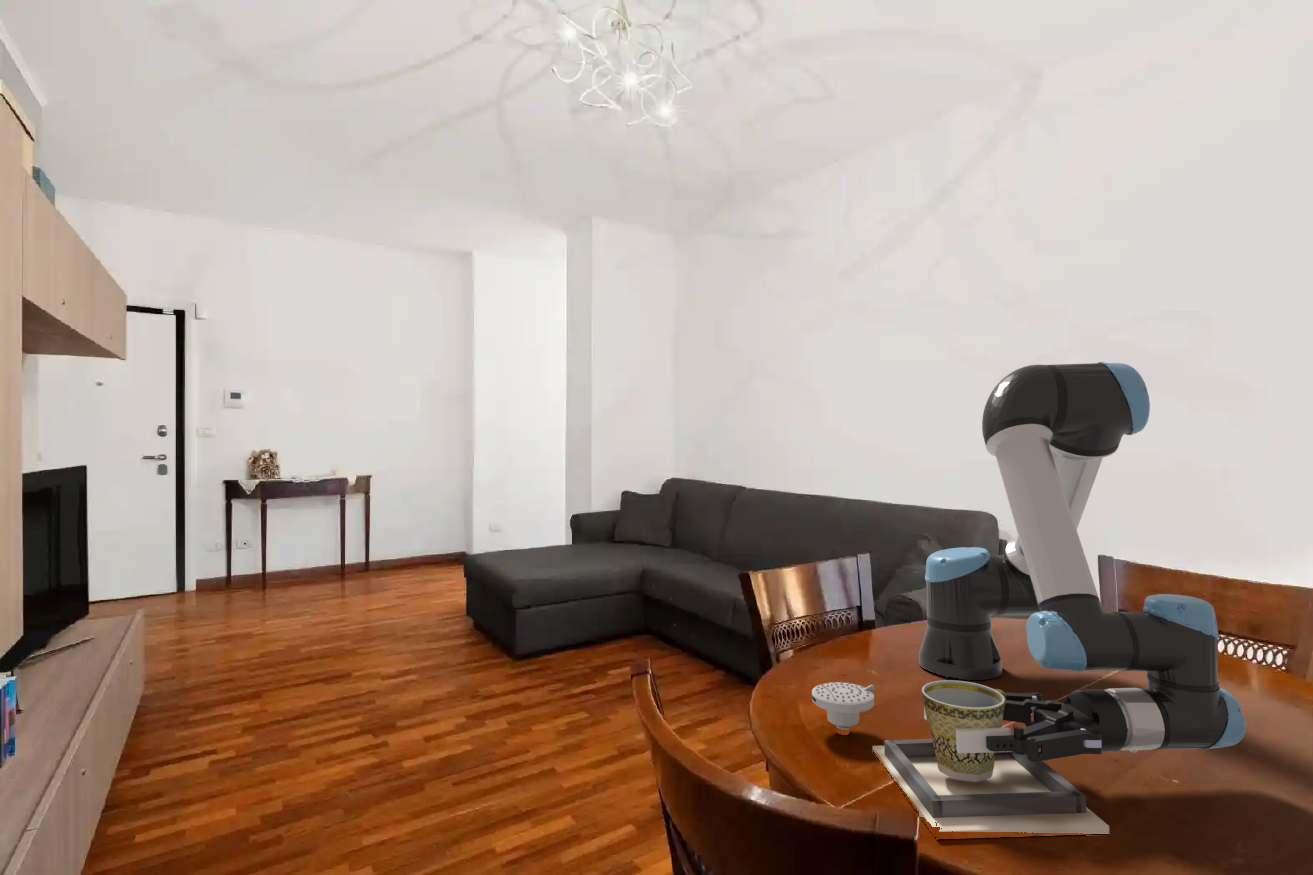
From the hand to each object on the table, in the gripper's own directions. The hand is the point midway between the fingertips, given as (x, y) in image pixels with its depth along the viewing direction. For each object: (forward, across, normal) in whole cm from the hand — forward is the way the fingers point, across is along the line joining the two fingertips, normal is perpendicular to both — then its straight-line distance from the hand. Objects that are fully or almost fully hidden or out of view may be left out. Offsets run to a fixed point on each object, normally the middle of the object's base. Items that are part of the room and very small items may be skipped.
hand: (940, 724), depth 89 cm
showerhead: (+7, +18, -9) cm, 21 cm away
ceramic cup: (-4, +1, -6) cm, 8 cm away
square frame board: (-5, 0, -8) cm, 10 cm away
